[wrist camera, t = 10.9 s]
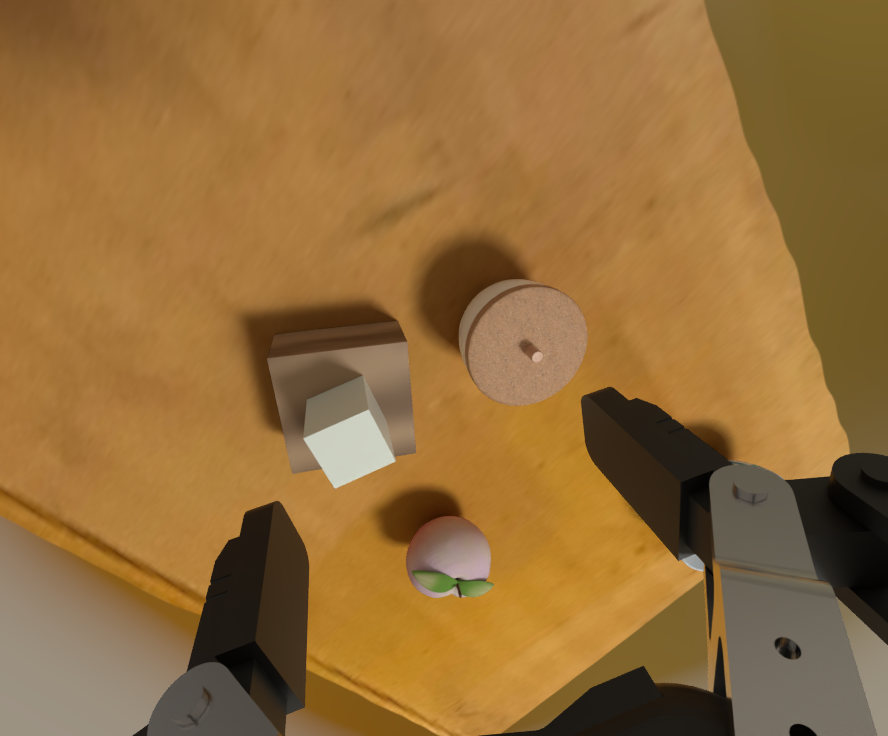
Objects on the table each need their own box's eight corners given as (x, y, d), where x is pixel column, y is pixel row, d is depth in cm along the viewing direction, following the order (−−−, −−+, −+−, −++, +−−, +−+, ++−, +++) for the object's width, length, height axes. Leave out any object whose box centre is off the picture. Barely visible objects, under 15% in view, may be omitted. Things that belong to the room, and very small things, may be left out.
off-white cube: (306, 399, 37) (303, 438, 32) (362, 375, 38) (368, 409, 32) (334, 445, 40) (334, 488, 34) (386, 421, 40) (395, 461, 34)
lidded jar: (465, 387, 47) (495, 435, 39) (430, 293, 42) (455, 324, 34) (559, 346, 48) (608, 385, 39) (535, 249, 43) (585, 269, 34)
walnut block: (274, 333, 41) (266, 358, 35) (397, 319, 43) (407, 341, 37) (296, 437, 45) (292, 473, 40) (406, 420, 47) (416, 453, 42)
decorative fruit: (485, 496, 53) (516, 562, 44) (467, 550, 56) (493, 622, 47) (408, 492, 51) (425, 562, 42) (393, 549, 53) (406, 625, 44)
